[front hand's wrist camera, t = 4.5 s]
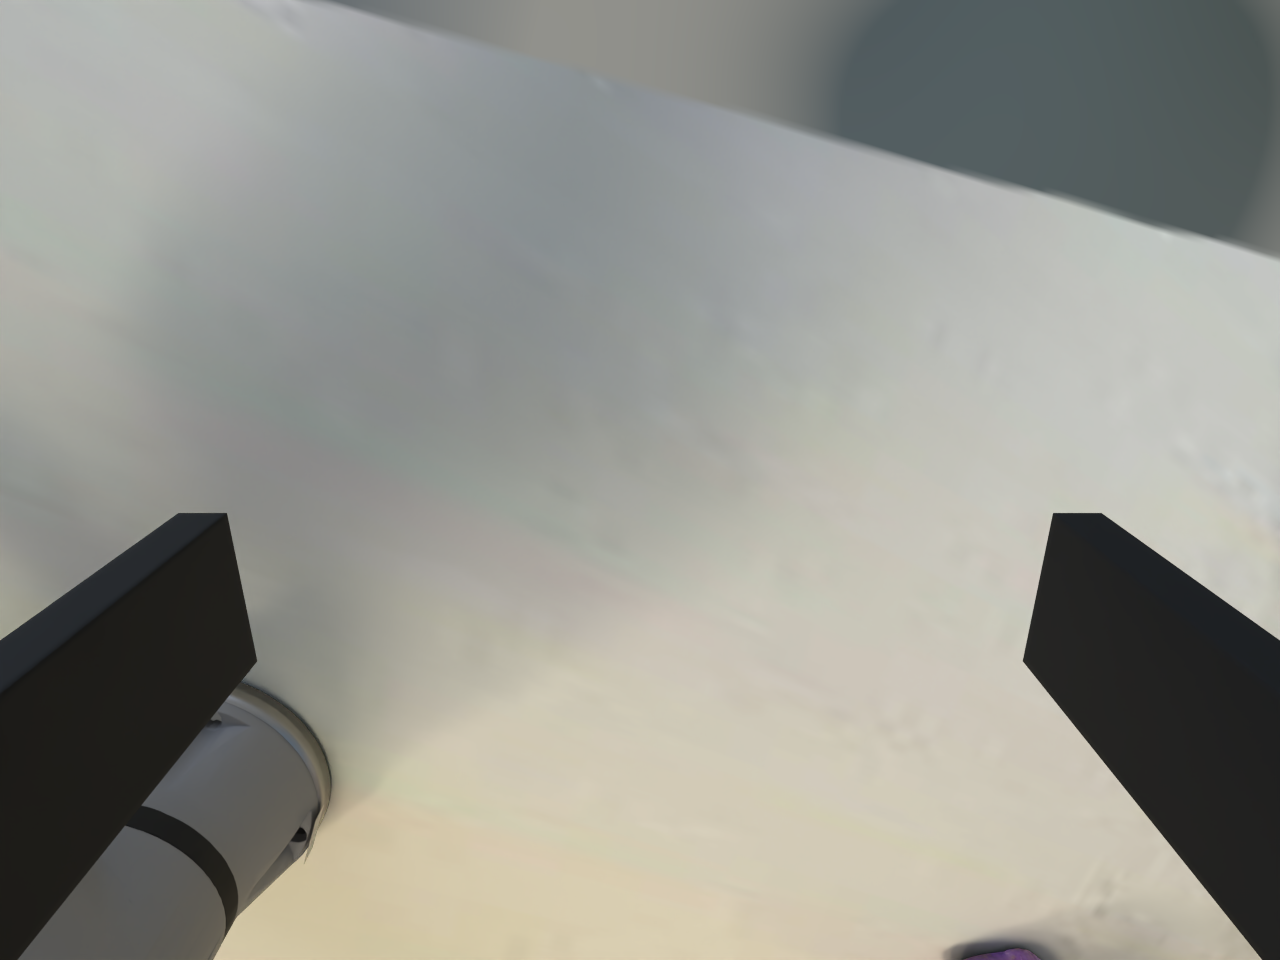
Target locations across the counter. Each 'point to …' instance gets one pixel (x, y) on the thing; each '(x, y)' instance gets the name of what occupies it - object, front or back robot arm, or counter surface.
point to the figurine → (1007, 955)
